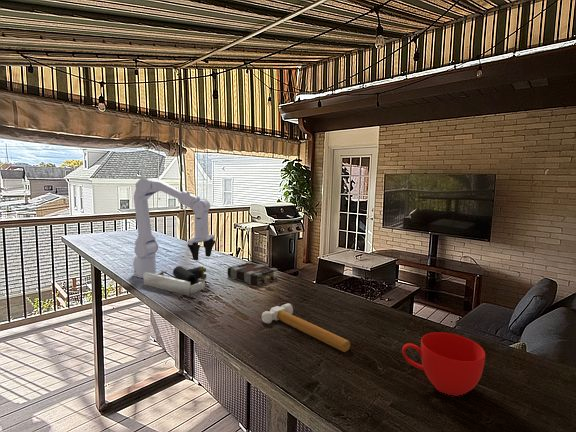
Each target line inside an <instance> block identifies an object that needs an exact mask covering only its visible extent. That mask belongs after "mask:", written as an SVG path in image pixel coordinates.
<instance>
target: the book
mask: <svg viewBox="0 0 576 432" xmlns="http://www.w3.org/2000/svg"><path fill="white" fill-rule="evenodd" d="M276 272H278V268H275V267H269V266H267V265H266V264H262V263H256V262H255V263H254V262H252V261H247V262H245V263H241V264H238V265H232V266H230V267H227V277H229V278H231V279H232V280H233V279H234V280H239V281H241V282H244V283H246V284H248V285H253V286H258V285H261V284H262V283H265V284H268V283H270V284H273V283H274V280H275V279H278V275H275V273H276Z"/></svg>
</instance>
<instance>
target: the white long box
mask: <svg viewBox="0 0 576 432" xmlns="http://www.w3.org/2000/svg"><path fill="white" fill-rule="evenodd" d="M164 274H167V270H161V271H159V272H156V274H154V273H149V272H144V273H143V276H144V278H143V285H145V286H149V287H154V288H157V289H161V290H164V291H169V292H173V293H176V294H181V295H183V296H187V297H188V296H190V295H192V294H195V293H197V292H200V291H201V290H204V289H206V281H205V280H204V278H202V279H198V281H197V283H196V284H194V285H191V286H190V282H188V281H184V280H180V279H178V278H176V277H170V276H167V275H164Z"/></svg>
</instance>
